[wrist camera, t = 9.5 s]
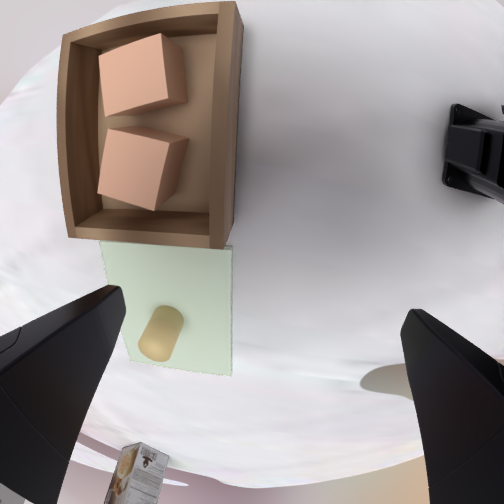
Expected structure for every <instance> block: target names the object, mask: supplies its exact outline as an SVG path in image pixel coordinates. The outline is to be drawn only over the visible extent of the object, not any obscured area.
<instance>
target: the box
mask: <svg viewBox="0 0 504 504" xmlns="http://www.w3.org/2000/svg"><path fill="white" fill-rule="evenodd" d="M243 28H244V26H243V23H242V20H241V17H240V14H239V11H238V8H237V5H236V2H235V1H224V2H206V3H195V4H185V5H177V6H170V7H164V8H158V9H152V10H147V11H142V12H137V13H133V14H128V15H124V16H120V17H116V18H113V19H109V20H106V21H102V22H99V23H96V24H92V25H89V26H86V27H83V28H80V29H78V30H75V31H72V32H70V33H67V34H64V35H63V38H62V45H61V52H60V61H59V72H58V86H57V150H58V165H59V176H60V186H61V194H62V202H63V209H64V215H65V221H66V227H67V232H68V238H81V239H93V240H106V241H118V242H131V243H143V244H156V245H169V246H181V247H194V248H206V249H219V250H224V247H225V244H226V241H227V239H228V236H229V233H230V231H231V228H232V225H233V222H234V194H235V170H236V147H237V127H238V108H239V90H240V73H241V57H242V43H243ZM159 33H161V34H163V35H164V36H166V37H167V38H169V39H170V40H172V41H173V42H174V43H176V44H177V45H179V46H180V47H181V48H182V55H183V64H184V72H185V80H186V88H187V95H188V102H186V103H181V104H176V105H172V106H168V107H164V108H160V109H156V110H152V111H148V112H144V113H141V114H137V115H132V116H111V117H105V113H104V105H103V97H102V88H101V78H100V67H99V56H100V55H102V54H104V53H107V52H109V51H111V50H114V49H116V48H119V47H121V46H124V45H127V44H129V43H132V42H135V41H138V40H141V39H144V38H147V37H150V36H153V35H156V34H159ZM136 125H137V126H141V127H146V128H150V129H155V130H159V131H163V132H167V133H171V134H175V135H179V136H183V137H187V138H189V141H188V144H187V148H186V152H185V155H184V159H183V163H182V167H181V170H180V174H179V178H178V182H177V186H176V191H175V194H174V195H173V196H172V197H170V198H169V199H168V200H167V201H165V202H164V203H163V204H162V205H161V206H159V207H158V208H157V209H156V210H155V211H152V210H149V209H146V208H143V207H140V206H137V205H133V204H130V203H127V202H124V201H121V200H118V199H114V198H111V197H108V196H105V195H102V194H98V185H99V177H100V170H101V164H102V158H103V152H104V146H105V141H106V136H107V131H108V129H110V128H118V127H126V126H136Z"/></svg>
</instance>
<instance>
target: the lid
mask: <svg viewBox="0 0 504 504" xmlns="http://www.w3.org/2000/svg"><path fill="white" fill-rule="evenodd" d="M99 242H100V247H101V253H102V258H103V263H104V267H105V272H106V277H107V281H108V285H116V286H120V287H121V288H122V291H123V295H124V300H125V305H126V315H125V318H124V321H123V323H122V326H121V329H120V330H121V333H122V336H123V340H124V343H125V346H126V349H127V352H128V355H129V358H130V361H134V362H139V363H144V364H149V365H154V366H160V367H165V368H171V369H177V370H184V371H191V372H198V373H205V374H213V375H222V376H231V374H232V246H225V247H224V250H219V249H206V248H194V247H181V246H169V245H156V244H143V243H131V242H118V241H106V240H100V241H99Z"/></svg>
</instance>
